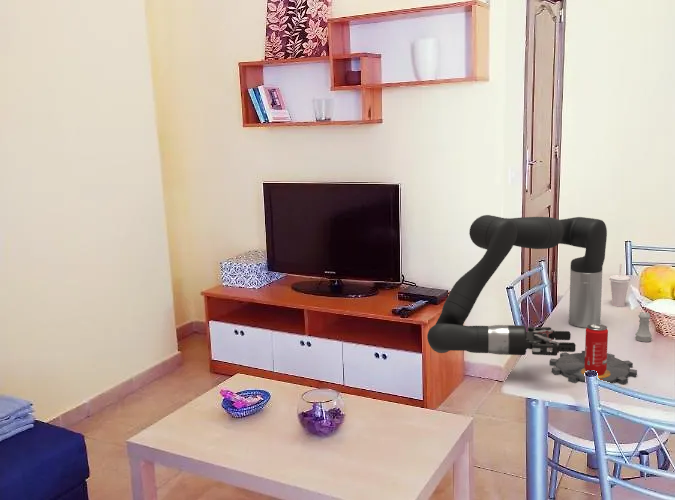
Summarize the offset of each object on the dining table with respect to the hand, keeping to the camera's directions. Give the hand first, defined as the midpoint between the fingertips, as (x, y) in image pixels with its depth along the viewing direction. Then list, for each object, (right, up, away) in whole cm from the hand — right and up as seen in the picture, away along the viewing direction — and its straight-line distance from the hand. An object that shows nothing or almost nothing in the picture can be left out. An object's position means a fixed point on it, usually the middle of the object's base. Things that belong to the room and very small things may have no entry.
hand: (572, 341), depth 171 cm
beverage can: (+6, -8, +1) cm, 10 cm away
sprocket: (+7, -8, +6) cm, 12 cm away
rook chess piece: (+29, -3, +25) cm, 39 cm away
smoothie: (+35, +4, +58) cm, 68 cm away
